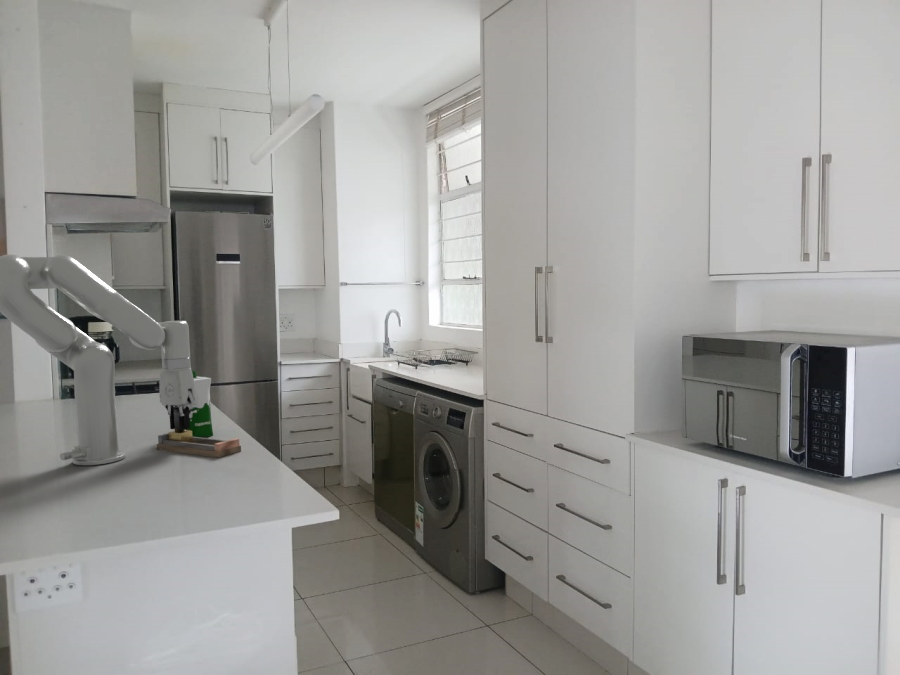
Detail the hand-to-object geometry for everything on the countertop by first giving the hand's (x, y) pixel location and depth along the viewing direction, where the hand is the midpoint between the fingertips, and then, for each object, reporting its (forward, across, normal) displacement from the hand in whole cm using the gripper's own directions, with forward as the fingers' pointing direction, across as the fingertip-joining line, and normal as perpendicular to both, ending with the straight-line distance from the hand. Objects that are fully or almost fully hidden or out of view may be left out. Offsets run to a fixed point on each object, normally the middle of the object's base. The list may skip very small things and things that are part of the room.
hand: (180, 428), depth 197 cm
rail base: (+6, +7, 0) cm, 9 cm away
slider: (+4, 0, 0) cm, 4 cm away
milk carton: (+6, -9, +13) cm, 17 cm away
